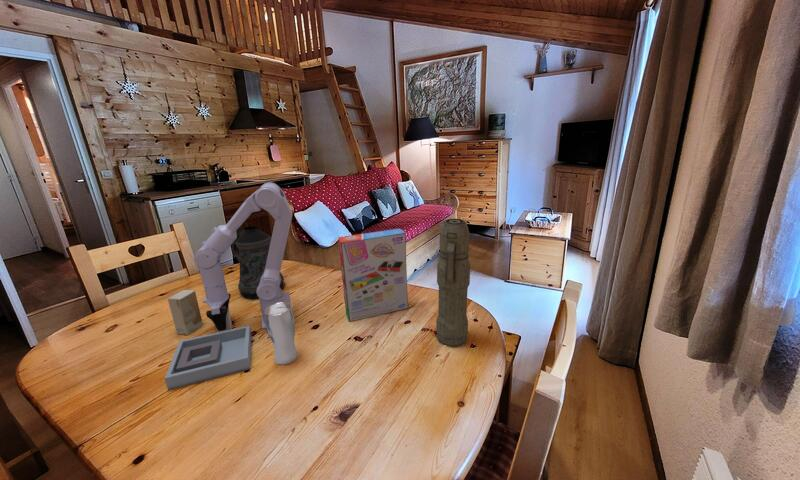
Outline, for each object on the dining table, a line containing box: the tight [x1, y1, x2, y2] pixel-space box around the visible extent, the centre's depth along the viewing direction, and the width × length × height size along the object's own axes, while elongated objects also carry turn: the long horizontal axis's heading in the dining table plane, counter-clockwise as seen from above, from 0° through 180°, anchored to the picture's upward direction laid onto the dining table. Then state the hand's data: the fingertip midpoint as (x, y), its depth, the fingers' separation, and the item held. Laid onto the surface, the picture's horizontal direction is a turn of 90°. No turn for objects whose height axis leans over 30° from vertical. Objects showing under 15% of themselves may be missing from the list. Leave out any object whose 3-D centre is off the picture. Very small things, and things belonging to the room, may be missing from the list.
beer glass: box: [264, 302, 299, 366], centre depth 86 cm, size 7×7×15 cm
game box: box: [337, 228, 409, 323], centre depth 105 cm, size 21×6×27 cm, turn 110°
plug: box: [215, 306, 233, 333], centre depth 101 cm, size 4×4×7 cm
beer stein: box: [231, 226, 285, 301], centre depth 123 cm, size 16×19×25 cm
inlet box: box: [164, 325, 253, 391], centre depth 88 cm, size 18×16×4 cm
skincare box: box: [167, 289, 204, 336], centre depth 101 cm, size 6×4×12 cm
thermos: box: [435, 218, 471, 348], centre depth 89 cm, size 9×12×35 cm
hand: (223, 323), depth 102 cm, fingers open, 7 cm apart
